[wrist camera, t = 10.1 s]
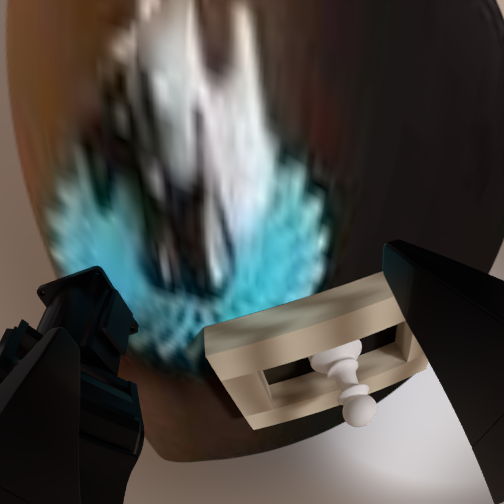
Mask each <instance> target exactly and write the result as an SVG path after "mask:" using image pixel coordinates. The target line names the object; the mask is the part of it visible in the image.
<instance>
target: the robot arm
mask: <svg viewBox="0 0 504 504" xmlns="http://www.w3.org/2000/svg"><path fill="white" fill-rule="evenodd" d="M95 272H97V273H99V275H97V274H95ZM383 273H384V277H385V279H386V281H387V283H388V285H389V287H390V289H391V291H392V293H393V295H394V297H395V299H396V302H397V304H398V306H399V308H400V310H401V312H402V315H403V317H404V319H405V321H406V323H407V324H408V326H409V328H410V330H411V331H412V333H413V335H414V337H415V338H416V340H417V342H418V343H419V345H420V347H421V349H422V350H423V352H424V354H425V356H426V358H427V359H428V361H429V363H430V365H431V367H432V368H433V370H434V372H435V374H436V376H437V378H438V379H439V381H440V383H441V385H442V387H443V389H444V391H445V393H446V395H447V397H448V399H449V400H450V403H451V404H452V407H453V409H454V410H455V413H456V415H457V417H458V419H459V421H460V423H461V425H462V427H463V429H464V431H465V434H466V436H467V438H468V440H469V442H470V445H471V446H472V450H473V452H474V454H475V457H476V459H477V461H478V464H479V466H480V468H481V470H482V473H483V476H484V478H485V481H486V483H487V486H488V488H489V491H490V494H491V496H492V499H493V502H494V504H499V503H502V502H504V281H503V280H501V279H498V278H496V277H494V276H491V275H489V274H487V273H484V272H482V271H479V270H477V269H475V268H472V267H470V266H467V265H465V264H462V263H460V262H457V261H455V260H452V259H450V258H447V257H445V256H442V255H439V254H437V253H434V252H432V251H429V250H426V249H424V248H421V247H418V246H416V245H413V244H410V243H407V242H405V241H402V240H394V241H390V242H387V243H386V244H385V245H384V249H383ZM43 292H44V293H43ZM37 294H38V296H39V298H40V299H41V300H42V302H43V303H44V304H45V306H46V307H47V308H46V310H45V312H44V314H43V316H42V318H41V320H40V323H39V325H38V327H37V329H36V330H35V329H33V328H32V327H31V326H29V324H28V323H27V322H26V321H24V320H23V319H22V320H21V322H20V324H19V326H18V328H17V327H14V329H6V331H5V333H4V335H3V337H2V339H1V341H0V504H123V501H124V496H125V491H126V486H127V482H128V480H129V477H130V474H131V471H132V470H133V468H134V466H135V464H136V462H137V460H138V457H139V455H140V453H141V450H142V447H143V442H144V425H143V419H142V414H141V408H140V403H139V396H138V390H137V384H135V383H133V382H131V381H126V380H124V379H122V378H120V377H118V376H117V375H118V369H119V363H120V357H122V356H124V355H125V353H126V348H127V342H128V337H129V335H131V334H135V333H137V332H138V327H139V326H138V324H137V322H136V321H135V319H134V318H133V314H132V312H131V311H130V309H129V308H128V306H127V305H126V303H125V302H124V300H123V298H122V297H121V295H120V294H119V292H118V291H117V290H116V289H115V288H114V287H113V285H112V283H111V282H110V280H109V279H108V277H107V275H106V274H105V272H104V270H103V269H102V268H101V267H99V266H93V267H91V268H88V269H85V270H82V271H79V272H77V273H74V274H71V275H68V276H66V277H63V278H60V279H57V280H55V281H52V282H49V283H47V284H44V285H42V286H40V287H39V288H38V290H37ZM131 327H133V328H131Z"/></svg>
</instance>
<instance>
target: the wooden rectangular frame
mask: <svg viewBox="0 0 504 504" xmlns="http://www.w3.org/2000/svg"><path fill="white" fill-rule="evenodd" d="M396 324H397V330H396V339H395V342H393V343H390V344H388V345H386V346H383V347H381V348H378V349H376V350H373V351H371V352H368V353H365V354H363V355H360V356H358V358H357V360H356V361H357V362H358V368H357V370H356V377H357V380H358V383H359V384H365V385H368V386H369V392H368V394H370V393H373V392H375V391H378V390H380V389H382V388H385V387H387V386H390V385H392V384H394V383H396V382H399V381H401V380H403V379H405V378H408V377H410V376H412V375H414V374H416V373H418V372H420V371H423V370H425V369H426V367H427V364H428V359H427V358H426V356H425V354H424V352H423V350H422V349H421V347H420V345H419V343H418V342H417V340H416V338H415V337H414V335H413V333H412V331H411V330H410V328H409V326H408V324H407V323H406V321H405V319H404V317H403V315H402V312H401V310H400V308H399V306H398V304H397V302H396V299H395V297H394V295H393V293H392V291H391V289H390V287H389V285H388V283H387V281H386V279H385V277H384V273H383V271H382V272H379V273H376V274H374V275H371V276H368V277H365V278H362V279H359V280H357V281H354V282H351V283H348V284H345V285H342V286H339V287H336V288H333V289H330V290H327V291H324V292H321V293H318V294H315V295H312V296H309V297H305V298H302V299H299V300H296V301H293V302H290V303H286V304H283V305H280V306H277V307H273V308H270V309H267V310H263V311H260V312H257V313H253V314H250V315H246V316H243V317H239V318H236V319H232V320H229V321H225V322H222V323H218V324H214V325H211V326H207V327H204V341H205V356H206V358H207V360H208V361H209V363H210V364H211V366H212V368H213V369H214V371H215V372H216V374H217V376H218V377H219V379H220V380H221V382H222V384H223V385H224V387H225V388H226V390H227V391H228V393H229V394H230V396H231V397H232V399H233V400H234V402H235V403H236V405H237V406H238V408H239V409H240V411H241V412H242V414H243V415H244V417H245V418H246V420H247V421H248V423H249V424H250V426H251V427H252V428H253V430H255V429H259V428H263V427H267V426H271V425H275V424H279V423H282V422H286V421H290V420H293V419H297V418H300V417H304V416H307V415H310V414H313V413H317V412H320V411H323V410H326V409H329V408H332V407H335V406H338V405H341V404H339V403H338V402H337V397H338V396H339V395H340V394H341V393H342V391H341V389H340V387H339V385H338V384H337V382H336V381H333V380H330V379H329V378H328V377H327V374H325V373H320V372H317V371H315V372H311V373H308V374H305V375H302V376H299V377H295V378H292V379H289V380H285V381H282V382H278V383H275V384H271V385H268V382H267V380H266V378H265V375H264V373H263V371H262V370H265V369H269V368H272V367H276V366H279V365H283V364H286V363H289V362H293V361H296V360H299V359H302V358H306V357H309V356H312V355H315V354H318V353H321V352H324V351H327V350H330V349H333V348H336V347H339V346H341V345H344V344H347V343H350V342H353V341H355V340H358V339H361V338H363V337H366V336H369V335H371V334H374V333H376V332H379V331H381V330H384V329H386V328H389V327H391V326H394V325H396Z"/></svg>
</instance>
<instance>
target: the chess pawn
mask: <svg viewBox="0 0 504 504" xmlns="http://www.w3.org/2000/svg"><path fill="white" fill-rule="evenodd" d="M361 349H362V345H361V342H360V340H359V339H358V340H355V341H353V342H350V343H347V344H344V345H341V346H339V347H336V348H333V349H330V350H327V351H324V352H321V353H318V354H315V355H312V356H309V357H308V359H309V361H310V364H311V367H312V368H313V369H314V370H315V371H317V372H320V373H325V374H327V377H328V378H329V379H330V380H333V381H336V382H337V384H338V385H339V387H340V389H341V391H342V393H341V394H340V395H339V396H338V397H337V402H338V403H339V404H341V405H344V407H343V417H344V420H345V421H346V422H347V423H348V424H349V425H351V426H354V427H362V426H365V425H367V424H369V423H370V422H371V421H372V420H373V419H374V418H375V416H376V413H377V405H376V402H375V401H374V399H373V398H372V397H370V396H368V395H367V394H368V392H369V386H368V385H365V384H359V383H358V380H357V377H356V370H357V368H358V362H357V361H356V360H357V358H358V356H359V355H360V353H361Z"/></svg>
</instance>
